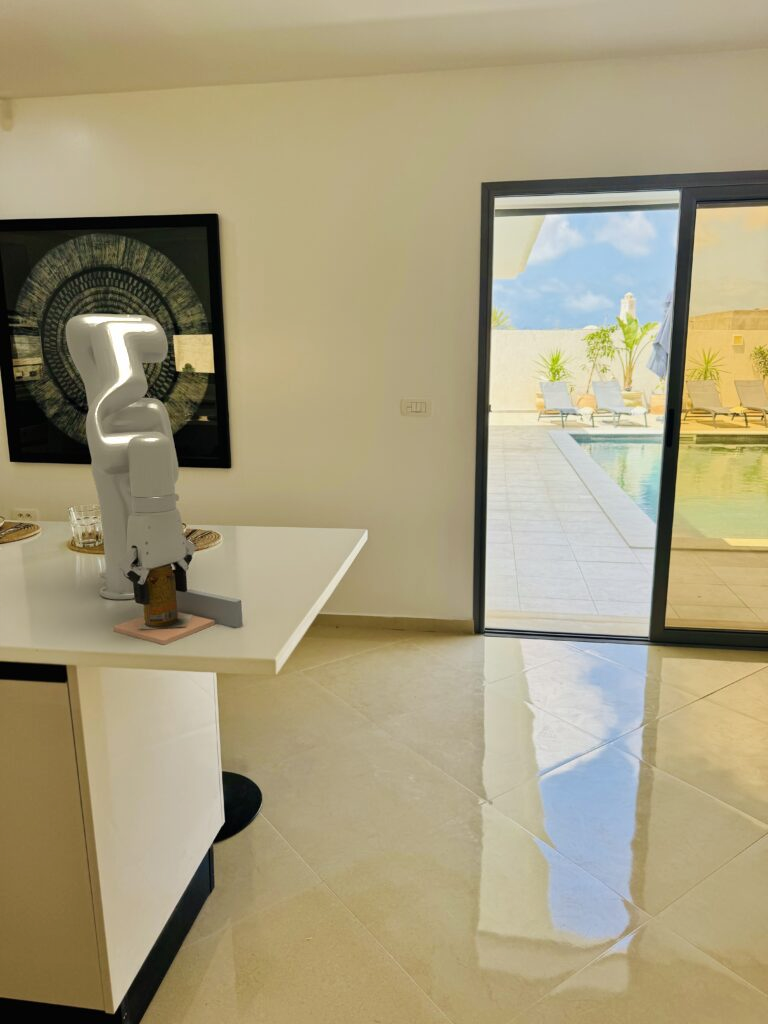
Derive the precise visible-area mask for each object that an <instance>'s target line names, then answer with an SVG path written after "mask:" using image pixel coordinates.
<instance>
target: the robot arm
mask: <svg viewBox="0 0 768 1024" xmlns="http://www.w3.org/2000/svg"><path fill="white" fill-rule="evenodd" d="M65 338H66V343H67V348H68V352H69V355H70V357H71V360H72V361H73V362H72V363H73V364H74V366H75V368H76V370H77V372H78V374H79V375H80V377H81V379H82V382H83V385H84V388H85V394H86V400H87V406H88V412H87V414H86V419H85V433H86V439H87V444H88V449H89V453H90V457H91V458H90V459H91V463H90V464H91V472H92V477H93V481H94V485H95V489H96V492H97V498H98V503H99V504H98V505H99V510H100V511H99V512H100V521H101V522H100V523H101V530H102V532H101V533H102V539H103V540H102V541H103V550H104V551H103V552H104V560H105V570H104V571H103V572H100V574H99V578H100V579H103V580H105V585H103V586H102V587H101V588H100V590H99V591H100V596H102V597H103V598H105V599H109V600H131V599H134V601H135V603H136V604H138V605H142V606H143V605H148V604H149V590H148V584H147V583H144V582H145V580H146V577H147V575H148V573H149V570H150V569H154V568H158V567H162V566H164V565H168V564H171V566H172V568H174V569H172V572H173V573H174V575H175V584H176V585H175V586H176V591H180V592H187V589H188V581H187V580H188V579H187V571H189V569H190V566H189V565H190V564H191V562H192V559H193V555H194V553H195V550H196V545H195V544H194V543H192V542H190V541H189V540H187V539H186V537H185V531H184V526H183V521H182V517H181V514H180V509H179V508H177V503H176V502H179V500H180V496H179V494H178V493H176V488H175V487H176V483H177V482H178V479H179V474H180V473H179V469H180V468H179V461H178V457H177V451H176V448H175V442H174V441H175V440H174V437H173V435H174V434H173V431H172V426H171V420H170V416H169V413H168V410H167V408H166V406H165V404H164V403H163V402H162V401H161V400H159V399H157V398H153V397H145V395H146V394H147V392H148V387H149V386H148V382H147V381H148V380H147V377H146V373H145V370H144V365H143V364H146V363H147V364H148V363H149V364H157V363H163V362H164V361H165V360H166V358H167V356H168V351H169V350H168V349H169V346H168V345H169V343H168V339H167V335H166V331H165V330H164V328H163V327H162V325H161V324H160V323H159V322H158V321H157V320H155V319H154V318H151V317H149V316H147V315H144V314H143V315H142V314H121V313H120V314H119V313H117V314H113V313H85V314H77V315H75V316H73V317H71V318H70V319H68V321H67V323H66V325H65Z"/></svg>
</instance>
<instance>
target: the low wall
mask: <svg viewBox="0 0 768 1024" xmlns="http://www.w3.org/2000/svg"><path fill="white" fill-rule="evenodd" d="M176 598H177V612H181V613H185V614H193V616H198V617H202V618H206V619H210V620H215V624H219V625H223V626H227V627H232V628H235V627H236V628H237V629H238V628H240V627H242V626H243V625H244V624H243V609H242V608H243V605H242V599H240V598H235V597H234V598H233V597H229V596H224V595H220V594H216V593H209V592H205V591H201V590H196V589H192V588H191V589H190V588H187V592H180V591H176Z"/></svg>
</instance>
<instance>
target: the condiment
mask: <svg viewBox="0 0 768 1024" xmlns="http://www.w3.org/2000/svg"><path fill="white" fill-rule="evenodd" d="M172 570H173V565H172V564H168V565H164V566H162V567H158V568H154V569H150V570H149V573H148V575H147V577H146V580H145V582H144V583H147V584H148V590H149V604H148V605H143V604H142V606H143V607H142V608H143V611H142V612H143V616H144V619H145V621H144V623H143V624H142V625H141V626H140V627H139V629H157V628H158V629H159V628H165V627H168V628H170V627H180V626H181V627H183V626H186V625H187V624H188V622H189V620H190V618H191V617H192V615H193V614H187V615H178V612H177V598H176V586H175V585H176V584H175V575H174V573H173V572H172Z"/></svg>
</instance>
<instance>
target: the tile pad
mask: <svg viewBox="0 0 768 1024" xmlns="http://www.w3.org/2000/svg"><path fill="white" fill-rule="evenodd" d="M178 615H187V614H185V613H181V612H178ZM144 621H145V619H144V615H142V616H140V617H137V618H135V619H132V620H128V621H125V622H122V623H120V624H117V625H114V626H112V630H113V632H117V633H120V634H123V635H126V636H131V637H134V638H138V639H142V640H145V641H149V642H153V643H156V644H160V645H162V646H163V645H164V646H166V645H168V644H170V643H172V642H175V641H177V640H180V639H183V638H185V637H188V636H190V635H192V634H195V633H197V632H200V631H202V630H204V629H207V628H211V627H213V626H214V625H216V623H215V620H210V619H206V618H202V617H198V616H193V615H192V617H191V618H190V620H189V622H188V624H187V625H186V626H183V627H181V626H180V627H170V628H168V627H165V628H159V629H158V628H157V629H139V627H140V626H141V625H142V624H143V623H144Z"/></svg>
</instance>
